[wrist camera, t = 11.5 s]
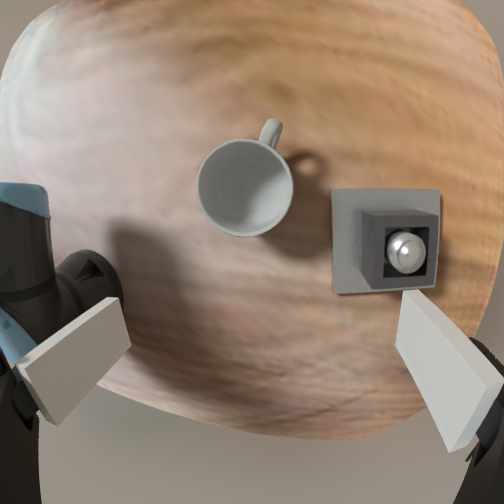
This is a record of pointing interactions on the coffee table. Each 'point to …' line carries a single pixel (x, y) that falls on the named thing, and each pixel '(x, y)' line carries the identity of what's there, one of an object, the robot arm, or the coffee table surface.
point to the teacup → (246, 184)
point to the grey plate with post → (396, 238)
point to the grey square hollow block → (374, 243)
